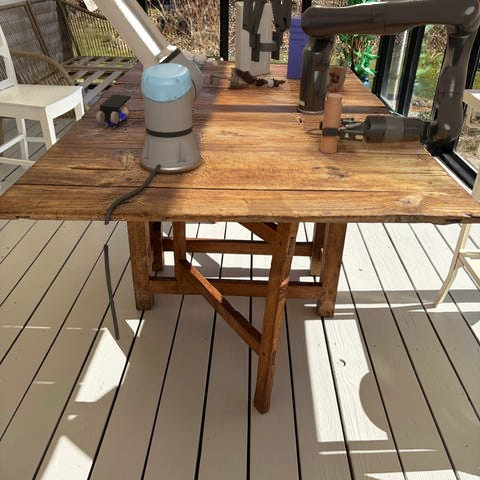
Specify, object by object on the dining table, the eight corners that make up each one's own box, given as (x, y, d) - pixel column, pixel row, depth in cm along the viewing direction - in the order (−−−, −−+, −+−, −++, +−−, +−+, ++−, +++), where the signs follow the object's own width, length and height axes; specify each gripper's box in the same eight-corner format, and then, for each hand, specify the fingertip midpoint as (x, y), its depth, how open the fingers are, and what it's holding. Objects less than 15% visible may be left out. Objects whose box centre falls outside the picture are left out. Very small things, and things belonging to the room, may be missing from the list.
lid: (271, 47, 123) (272, 39, 122) (280, 51, 118) (280, 42, 117) (251, 48, 121) (251, 39, 120) (259, 52, 117) (259, 43, 116)
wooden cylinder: (337, 153, 131) (344, 97, 123) (320, 152, 131) (326, 97, 123) (335, 147, 135) (342, 93, 127) (319, 147, 135) (324, 92, 127)
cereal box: (326, 77, 211) (332, 17, 198) (327, 79, 206) (333, 19, 194) (286, 76, 211) (290, 16, 199) (287, 78, 207) (290, 18, 195)
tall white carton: (273, 76, 210) (276, 6, 196) (239, 77, 209) (240, 6, 194) (266, 67, 226) (268, 2, 212) (235, 67, 225) (235, 1, 210)
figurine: (210, 87, 179) (288, 95, 182) (212, 65, 176) (291, 73, 180) (208, 84, 201) (278, 91, 205) (210, 64, 198) (280, 71, 202)
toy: (173, 75, 210) (172, 58, 207) (149, 64, 228) (148, 49, 224) (220, 69, 222) (220, 53, 218) (194, 59, 239) (193, 45, 236)
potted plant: (332, 93, 201) (333, 95, 187) (318, 79, 200) (318, 79, 186) (355, 70, 197) (357, 69, 183) (340, 55, 196) (341, 53, 182)
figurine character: (119, 135, 145) (134, 115, 156) (115, 111, 140) (131, 93, 152) (98, 134, 145) (114, 114, 157) (93, 110, 141) (110, 92, 152)
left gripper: (244, -48, 102) (241, 66, 114) (312, -46, 110) (303, 60, 122) (227, -48, 107) (226, 60, 119) (293, -46, 116) (285, 55, 128)
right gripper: (379, 108, 134) (318, 107, 134) (392, 124, 122) (326, 123, 122) (374, 134, 138) (315, 133, 138) (387, 152, 125) (323, 151, 125)
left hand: (265, 60), depth 121 cm, fingers closed on lid, 5 cm apart
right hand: (321, 128), depth 130 cm, fingers closed on wooden cylinder, 4 cm apart
